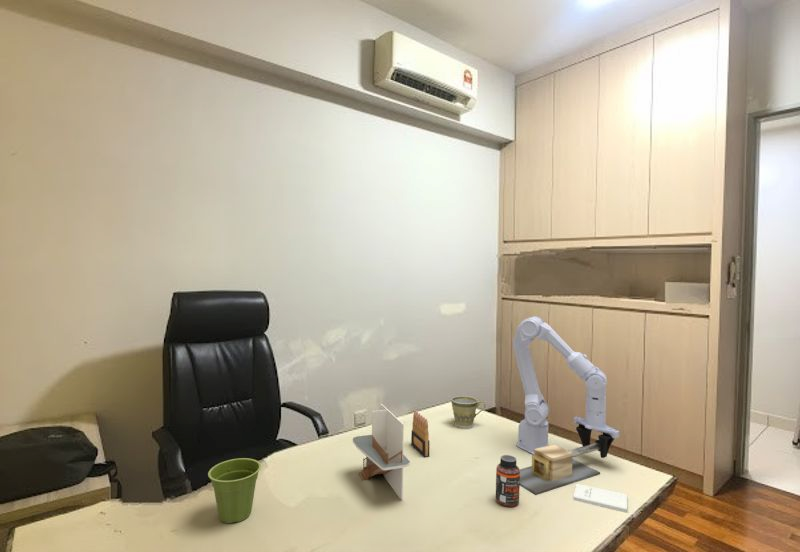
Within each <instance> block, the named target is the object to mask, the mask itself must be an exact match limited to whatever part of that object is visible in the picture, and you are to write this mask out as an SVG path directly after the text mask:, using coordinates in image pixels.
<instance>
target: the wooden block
mask: <svg viewBox="0 0 800 552" xmlns="http://www.w3.org/2000/svg"><path fill="white" fill-rule="evenodd" d="M538 461H539V462H541V463H543V464H544V473H542V472H541V471H539V470H538ZM531 466H532V474H534V475H536V476H538V477H539V478H541V479H543V480H545V481H548V480H550V460H548V459H546V458H544V457H542V456H540V455H538V454H531Z"/></svg>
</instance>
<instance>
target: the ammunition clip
mask: <svg viewBox="0 0 800 552" xmlns="http://www.w3.org/2000/svg"><path fill="white" fill-rule="evenodd" d="M411 428H412V429H411V439H410V440H411V442H410V445H411V446H412V448H414V449H415V450H416V451H417V452H418V453H419V455H421V456H422V457H423V458H427V457H429V458H430V440H429V439H430V438H429V437H430V433H429V421H428V419H427V418H425V416H423V415H422V414H421V413H419V411H416V410H414V411H413V417H412V427H411Z"/></svg>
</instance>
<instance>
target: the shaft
mask: <svg viewBox="0 0 800 552" xmlns="http://www.w3.org/2000/svg"><path fill="white" fill-rule="evenodd" d="M567 451H569V452H571V453H572V458H575V457H579V456H582V455H585V454H589V453H593V452H596V451H598V452H600V442H599V439H596V440H595V441H594V443H590V445H586V446H583V445H582V446H579V447H575V448H571V449H568V450H567ZM544 458H545V457H544ZM546 459H547V458H546Z"/></svg>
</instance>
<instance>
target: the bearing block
mask: <svg viewBox="0 0 800 552" xmlns="http://www.w3.org/2000/svg"><path fill="white" fill-rule="evenodd" d="M534 454H538V455H540V456H542V457H545V458H547V459H548V460H550V480H548V481H545V480H543V479H541V478H539V477H538V476H536V475H534V474H532V465H531V466H527V467H524V468H521V469H520V468H519V469H520V487H522V488H524V489H525V490H527V491H529V492H530V493H532V494H533V495H535V496H537V495H540V494H543V493H546V492H549V491H552V490H556V489H559V488H561V487H565V486H567V485H570V484H573V483H577V482H580V481H583V480H586V479H589V478H591V477H595V476H598V475H600V474H601V471H599V470H596V469H594V468H593V467H590V466H588V465H586V464H585V463H582V462H580V461H578V460H575V459H574V458H573V457H572V453H571V452H569V451H568V450H567V449H564V448H562V447H560V446H558V445H556V444H548V446H545V447H541V448H537V449H534ZM538 470H539V471H541V472H542V473H544V464H543V463H541V462H539V461H538Z"/></svg>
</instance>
